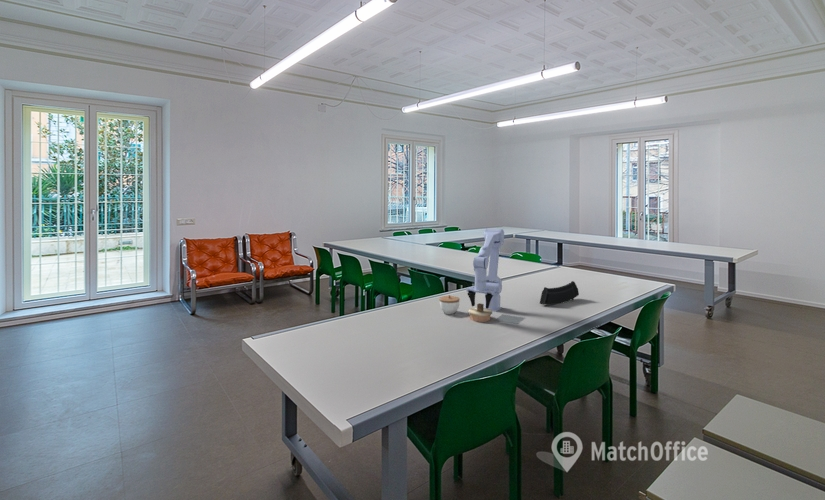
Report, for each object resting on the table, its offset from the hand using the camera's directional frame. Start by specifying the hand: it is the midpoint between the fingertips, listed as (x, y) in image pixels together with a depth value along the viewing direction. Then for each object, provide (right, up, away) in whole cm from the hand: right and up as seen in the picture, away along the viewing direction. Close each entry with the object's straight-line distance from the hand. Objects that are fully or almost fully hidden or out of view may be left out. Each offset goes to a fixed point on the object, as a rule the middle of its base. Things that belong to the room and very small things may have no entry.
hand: (480, 307), depth 215 cm
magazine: (+51, -2, +33) cm, 61 cm away
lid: (0, -3, 0) cm, 3 cm away
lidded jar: (-14, -5, +14) cm, 20 cm away
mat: (+15, -6, 0) cm, 16 cm away
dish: (0, -6, +1) cm, 6 cm away
